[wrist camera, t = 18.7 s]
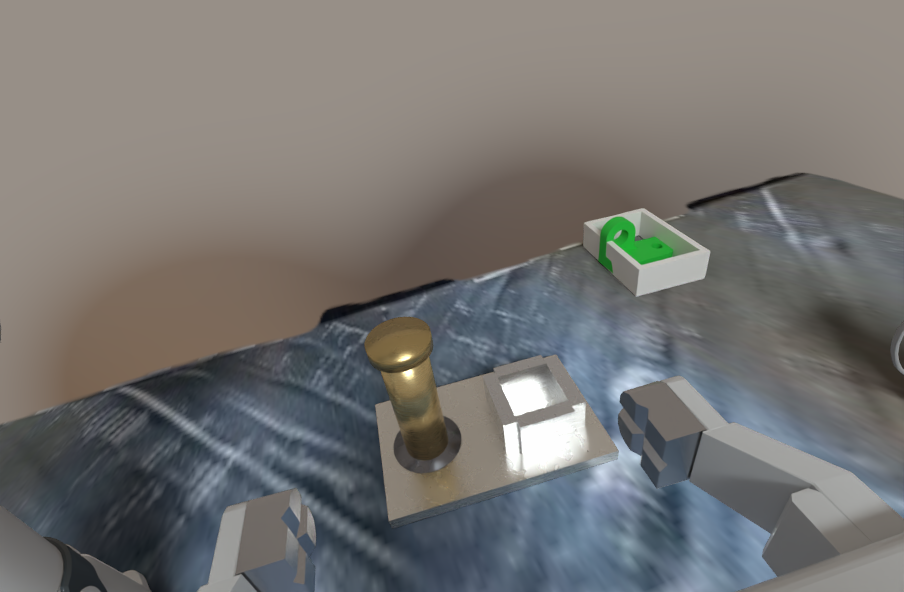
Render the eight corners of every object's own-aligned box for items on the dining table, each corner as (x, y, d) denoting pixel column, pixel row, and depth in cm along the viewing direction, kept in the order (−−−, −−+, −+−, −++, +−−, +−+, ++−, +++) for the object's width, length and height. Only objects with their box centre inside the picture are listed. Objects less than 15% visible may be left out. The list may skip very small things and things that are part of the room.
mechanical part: (617, 277, 75) (621, 235, 70) (598, 261, 80) (601, 220, 75) (679, 260, 77) (687, 217, 72) (657, 245, 82) (663, 204, 77)
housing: (392, 528, 46) (379, 499, 42) (377, 412, 59) (367, 383, 55) (617, 459, 48) (621, 426, 45) (556, 362, 61) (555, 332, 58)
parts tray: (636, 296, 70) (639, 269, 68) (583, 246, 85) (583, 222, 82) (704, 278, 72) (710, 251, 69) (640, 231, 86) (643, 208, 84)
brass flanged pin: (404, 473, 49) (366, 368, 40) (396, 427, 54) (362, 326, 45) (460, 456, 49) (436, 350, 40) (447, 413, 55) (424, 310, 46)
